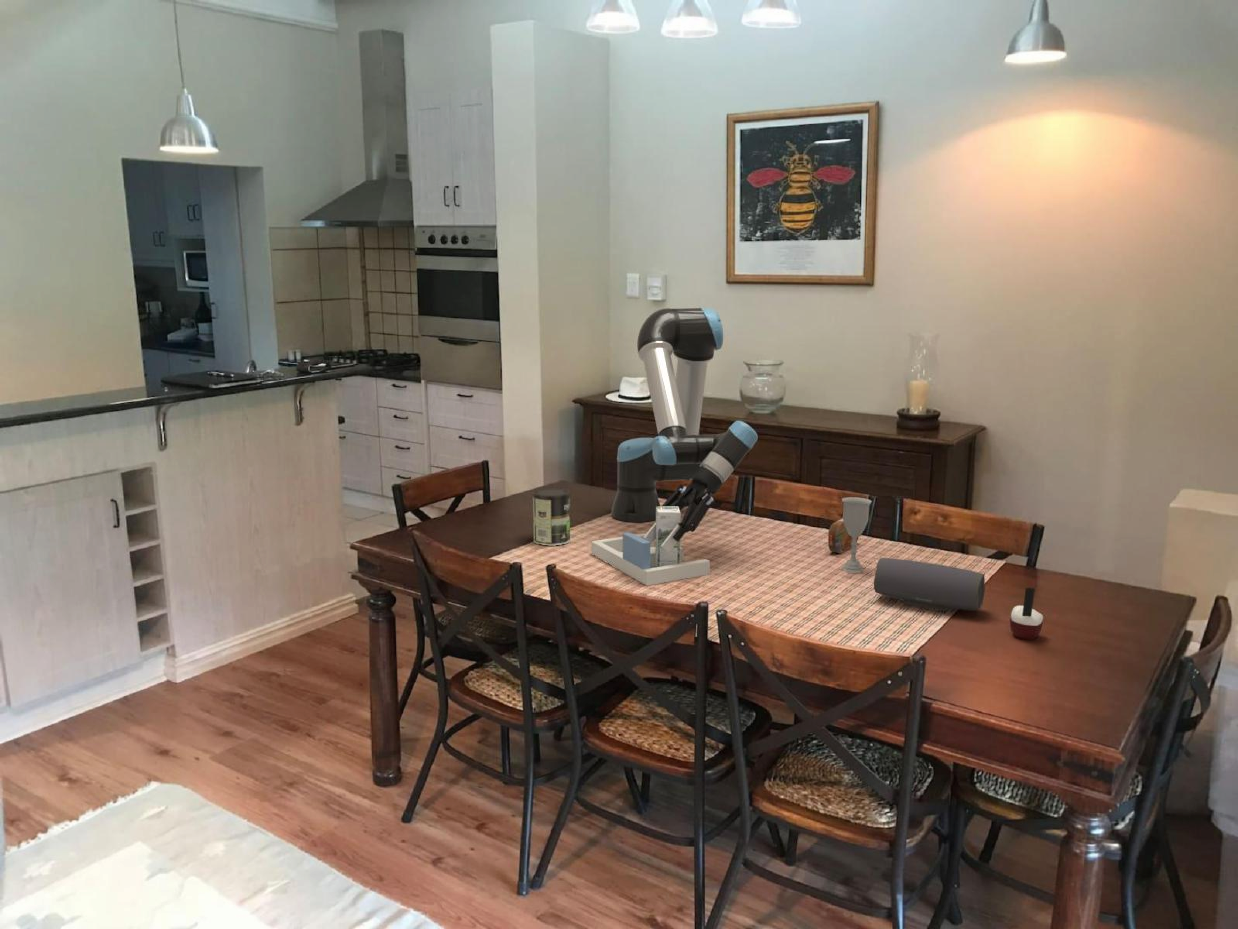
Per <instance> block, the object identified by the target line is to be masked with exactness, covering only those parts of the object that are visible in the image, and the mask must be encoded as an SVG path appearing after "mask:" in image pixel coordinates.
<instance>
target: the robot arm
mask: <svg viewBox="0 0 1238 929" xmlns="http://www.w3.org/2000/svg"><path fill="white" fill-rule="evenodd" d="M723 345H724V330H723V323H722V320H721V318H720V315H719V313H718V312H717V310H716V309H713V308H706V307H705V308H703V307H697V308H695V307H694V308H690V307H689V308H685V307H684V308H669V307H667V308H666V307H665V308H660V309H658V310H657V311H654V312H653V313H651V314H650V315H649V316H648V317H647V318H646V319H645V321H644V322H643V324H642V325H641V327H640V329H639V332H638V335H637V345H636V346H637V353H638V357H639V359H640V360H641V361H642V362H643V364H644V370H645V375H646V378H647V379H646V380H647V385H648V389H649V395H650V399H651V405H652V411H653V416H654V420H655V425H656V429H657V430H656V431H657V434H658V436H655V437H637V438H631V439H628V440H625V441H622V442H621V443H620V444H619V445H618V448H617V455H616V456H617V457H616V461H617V488H616V490H617V492H616V493H615V497H614V500H613V503H612V506H611V518H613V519H615V520H619V521H623V522H628V523H629V522H631V523H645V522H646V523H647V522H652V521H655V522H654V523H653V524H652V525H651V527H650V529H649V530H648V531H647V532H645V533H646V535H645V536H644V538H645V539H646V540H647V541H648V542H650V544H652V543H653V542H654V541H655V542H656V507H667V506H678V507H679V510H680V511H682V510H683V509H684V508H686V510H685V513H684V515H683V516H682V517H683V518H682V519H681V523H678V525H679V526H680V527H679V526H678V525H677V526H676V527H675V528H674V529H673V531H672V532H671V533H670V534H669V536H668V537H667V538H666V540H665V541H664V542H663V543H662V545H661V547H663V548H664V549H665V550H666V551H667V552H668V553H669V552H670V551H671V550H672V548H673V547H674V546H675V544H676V543H677V542H678V541H679V540H680V541H681V539H682V538H683V536H685V534H686V533H689V532H691V533H694V532H695V530H697V528H698V527H699V525H700V523H701V522H702V520H703V518H704V517H705V515H706V514H707V512H708V511H709V510H710V508H711V507H712V506H713V505H714V504H715V502H716V500H715V499H714V498H713V497H712V496H714V495H715V496H716V494H717V493H718V492H719V490H720V489H721V488H722V487H723V483H725V482H726V481H727V479H729V476H731V474H732V473H733V472H734V471H735V470H736V468H737V467H738V466H739V464H740V463H741V462H742V461H743V459H745V457H746V456H747V455H748V453H749V452H750V451H751V449H753V447H754V446H755V444H756V442H758V438H759V436H758V433H757V431H755V429H753V428H752V426H750V425H749V424H747V423H746V422H744V421H742V420H735V421H734V422H733V423H732V424H731V425H730V426H729V427H728V429H727V430H726V432H725V431H724V432H723V433H718V434H717V433H716V434H700V426H701V425H700V424H701V417H702V409H703V401H704V393H705V384H706V378H707V371H708V370H707V368H708V363H709V362H710V361H712V360H713V359H714V355H715V351H718V350H721V348H722V346H723ZM672 355H674V357H675V358H676V360H677V364H676V373H675V371H674V370H675V369H674V365H673V362H672V360H673V359H672ZM675 374H676V375H675ZM690 480H691V482H690V483H689V484H688V485H686V486H684V485H683V484H682V483H681V484H679V485H678V486H677V488H675V491H674V492H672V494H671V495H670V496H669V497H668V498H667V499H666V500H665V502H663V503H662V505H661V503H660V500H659V497H658V493H657V482H671V481H672V482H675V481H685V482H686V481H690ZM711 495H712V496H711ZM655 542H654V543H655Z"/></svg>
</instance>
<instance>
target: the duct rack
mask: <svg viewBox="0 0 1238 929" xmlns="http://www.w3.org/2000/svg"><path fill="white" fill-rule="evenodd" d="M646 533H647V532H645V533H644V532H643V533H637V534H634V533H632V532H631V531H630V532H625V533H623V532H622V536H619V537H612V538H611V537H610V538H606V539H604V538H603V539H599V540H592V541H590V542H591V545H590V552H591V553H590V554H591V555H592V556H594V555H595V556H596V557H595V556H594V557H595V558H597V557H598V558H597V559H599V558H600V559H599V560H601V559H602V560H603V561H602V560H601V561H602V562H604V561H606V562H607V563H606V562H605V563H606V564H608V563H609V564H610V566H611V565H613V566H614V567H613V566H612V567H613V568H615V569H616V570H618V569H619V571H620V572H622V573H624V574H625V575H627V576H629V577H631V578H632V579H634V578H635V579H634V580H636V581H638V582H640V583H641V584H643V585H644V586H646V587H648V586H653V585H654V586H655V585H660V584H664V582H666V583H670V582H671V583H672V582H676V581H680V580H681V579H682V580H686V579H685V578H688V579H693V578H699V577H704V576H709V575H710V572H711V571H710V568H711V567H710V566H711V562H710V560H708V559H706V558H703V559H697V560H691V561H684V552H685V551H684V548H683V547H681V546H680V563H679V564H673V565H667V566H661V567H657V564H656V560H655V554H656V546H654V543H655V542H653V543H652V544H650V542H648V541H647V540H646V539H645V538H644V536H645V535H646ZM622 551H623V552H622ZM609 564H608V565H609Z"/></svg>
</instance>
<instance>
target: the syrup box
mask: <svg viewBox="0 0 1238 929" xmlns="http://www.w3.org/2000/svg"><path fill="white" fill-rule="evenodd" d="M681 518H682V514H681V510H679V507H678V506H667V507H656V520H655V521H656V539H655V547H656V554H655V560H656V564H657V566H656V567H661V566H667V565H673V564H679V563H681V562H680V547H681V539H680V540H679V541H678V542H677V543H676V544H675V546H674V547H673V548H672V550H671V551H670V552H669V553H668V552H667V551H666V550H665V549H664V548H663V547H661V545H662V543H663V542H664V541H665V540H666V538H667V537H668V536H669V534H670V533H671V532H672V531H673V529H674V528H675V527H676V526H677V525H678V523H681V522H682V519H681ZM678 526H679V525H678ZM679 527H680V526H679Z"/></svg>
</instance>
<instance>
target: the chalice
mask: <svg viewBox="0 0 1238 929" xmlns="http://www.w3.org/2000/svg"><path fill="white" fill-rule="evenodd" d="M841 501H842V504H843V506H842V507H843V508H842V509H843V511H842V518H843V521H844V525H845V527H846V530H847V532H848V534H849V535H850V536H852V539H853V540H852V543H851V545H852V548H851V550H849V552H850V554H851V557H850V558H849V559H847V560H846V561H845V563H844V565H843V567H842V571H844V572H845V573H850V574H851V573H852V574H858V573H859V574H860V573H863V571H864V570H863V567H862V564H861V562H860V561H859V560H857V558H856V557H857V556H856V555H857V553H858V551H857V546H858V541H857V542H856V539H857V537H858V538H859V537H861V535H862V534H863V532H864V531H865V529H866V527H867V525H868V522H869V518H870V517H869V514H870V513H869V512H870V506H871V504H872V500H871V499H868V498H863V497H856V496H855V497H852V496H850V497H843V498H841Z"/></svg>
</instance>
